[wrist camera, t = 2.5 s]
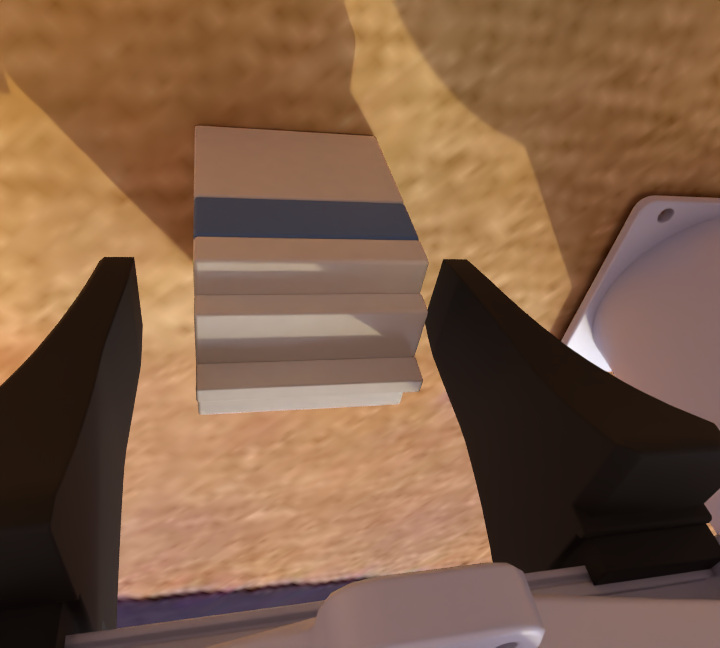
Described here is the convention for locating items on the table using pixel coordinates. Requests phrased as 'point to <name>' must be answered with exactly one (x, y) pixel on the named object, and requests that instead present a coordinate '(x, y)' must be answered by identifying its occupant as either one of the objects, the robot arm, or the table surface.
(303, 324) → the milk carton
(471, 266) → the robot arm
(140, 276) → the table surface
